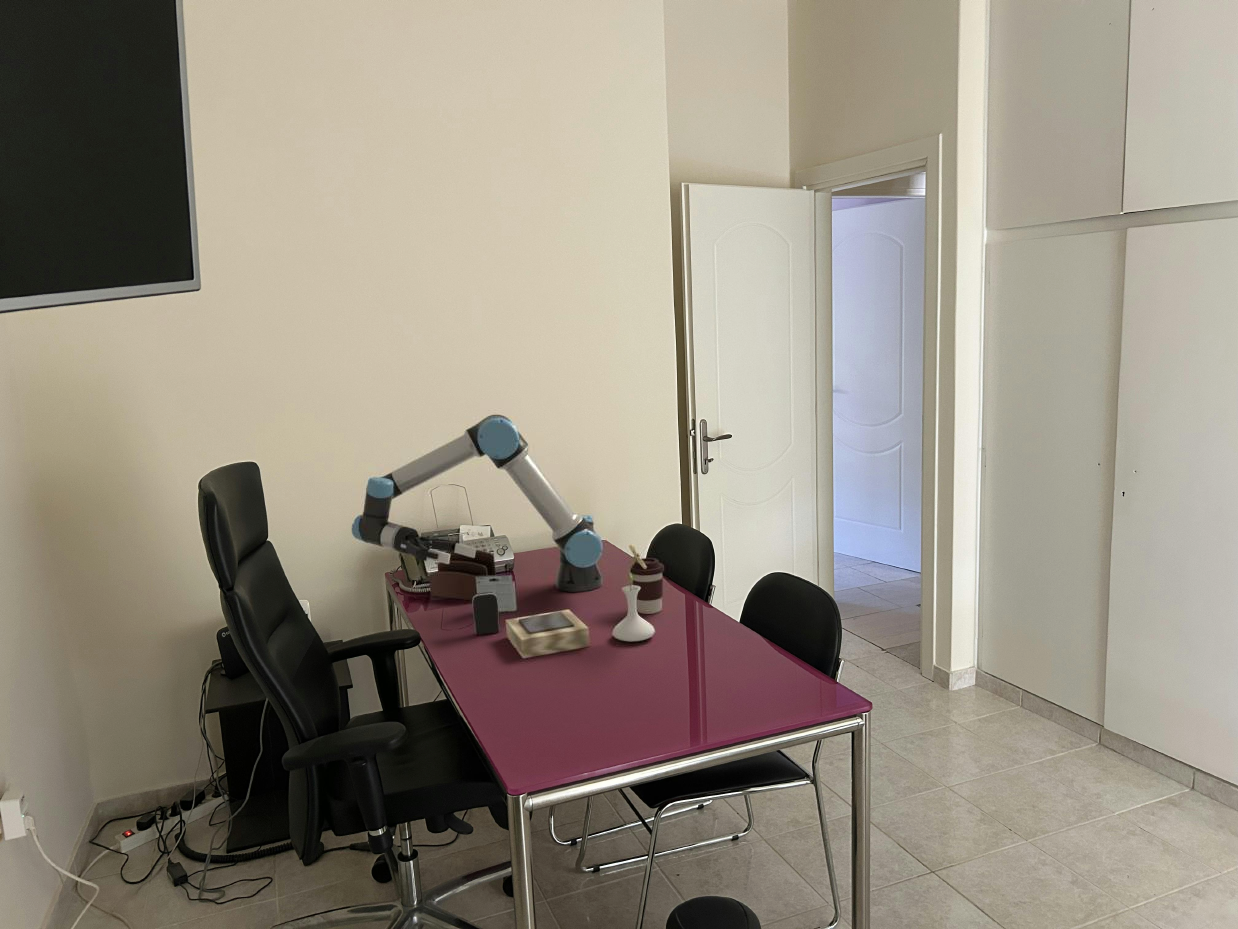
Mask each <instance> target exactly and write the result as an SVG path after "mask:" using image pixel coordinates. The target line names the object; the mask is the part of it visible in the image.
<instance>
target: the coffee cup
mask: <svg viewBox="0 0 1238 929" xmlns="http://www.w3.org/2000/svg"><path fill="white" fill-rule="evenodd" d="M640 559H641V560H642V561H643V562H644V563H645V565H646V567H647V568H646V569H644V568H643V567H642V566H641V565H640V563H639V562H638V561H637V560H634V562H633V564H632V567H631V570H630V573H631V575H632V577H633V578H635V580H633V581H632V586H639V587H640V590H639V592H638V594H637V599H636V609H637V613H638V614H642V615H643V614H644V615H645V614H646V615H651V614H657V613H660V612H661V611H662V608H663V601H662V600H663V599H662V598H663V597H664V596H663V592H664V591H663V590H664V587H663V586H664V576H663V572H665V565H664V563H662V562H660V561H659V559H657V558H653V557H643V558H642V557H641V558H640Z"/></svg>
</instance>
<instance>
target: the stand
mask: <svg viewBox="0 0 1238 929" xmlns="http://www.w3.org/2000/svg"><path fill="white" fill-rule="evenodd" d="M505 628H506V630H505V631H506V638H507V639H508V641H509V640H510V641H509V642H510V643H511V645H512V646H513V647H514V648H516V649H515V650H516V651H517V652H518V654H519V655H520V656H521V657H522V659H527V658H528V659H529V658H532V657H538V656H543V655H544V656H545V655H549V654H555V653H560V652H567V651H571V650H578V649H582V648H583V649H584V648H587V647H589V648H590V647H591V646H590V645H591V644H590V632H589V630H590V629H589V627H588V626H587V625H586V624H585V623H583V621H581V620H580V619H579V618H578V617H577V615H575V614H574V613H573V612H572V611H571V610H570V609H563V610H557V611H551V612H546V613H545V612H544V613H539V614H533V615H528V616H521V617H515V618H508V619H505Z"/></svg>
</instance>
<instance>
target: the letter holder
mask: <svg viewBox="0 0 1238 929" xmlns="http://www.w3.org/2000/svg"><path fill="white" fill-rule="evenodd" d="M444 553H448V554H450V560H449V564H445V563H442V562H438V563H437V571H433V572H430V573H429V575H428V576H429V589H430V590H429V591H430V597H436V596H438V598H446V599H448V598H449V599H457V600H463V601H464V600H465V601H472V598H473V596H474V595H475V594H477V586H476V576H488V575H497V569H496V561H495V556H494V554H493V553H491V552H487V551H483V550H479V549H478V550H477V549H476V553H475V558H472V557H469V556H465V555H461V554H458V553H454V551H446V550H444ZM490 581H498V579H495V578H493V579H490Z"/></svg>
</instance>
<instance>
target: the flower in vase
mask: <svg viewBox="0 0 1238 929" xmlns="http://www.w3.org/2000/svg"><path fill="white" fill-rule="evenodd" d="M628 547H629V549H630V551H631V554H632V555H633V558H632V560H631V563H630V566H629V569H628V571H627V572H628V573H627V574H628V581H627V582H626V583H627V584H628V585H626V586H623V587H621V591H622V593H624V595H625V597H626V600H627V615H626V616H625V617H624V618H623V619H622V620H621V621H620V622H618V624H616V625H615V627H614V628H613V630H612V635H613V637H614V638H615V639H617V640H619V641H623V642H640V641H644V640H648V639H650V638H652V637H653V636H654V634H655V633H656V630H655V628H654V626H653V625H652V624H651V623H649V622H648V621H647V620H646V619H644V618H642V617H641V616H640V615H639V612H638V611H637V607H636V599H637V594H638V592H639V590H640V587H639V586H633V585H632V583H633V580H635V578H633V575H632V573H631V572H630V570H631V567H632V565H633V564H634V563H635V561H636V560H637V561H638V562H639V563H640V565H641V566H642V567H643V568H644V569H646V568H647V567H646V565H645V563H644V562H643V561H642V560H641V559H642V558H641V555H640V554H639V552H637V550H636V548H635V546H634V545H633V544H632V543H630V544H629V545H628Z"/></svg>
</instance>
